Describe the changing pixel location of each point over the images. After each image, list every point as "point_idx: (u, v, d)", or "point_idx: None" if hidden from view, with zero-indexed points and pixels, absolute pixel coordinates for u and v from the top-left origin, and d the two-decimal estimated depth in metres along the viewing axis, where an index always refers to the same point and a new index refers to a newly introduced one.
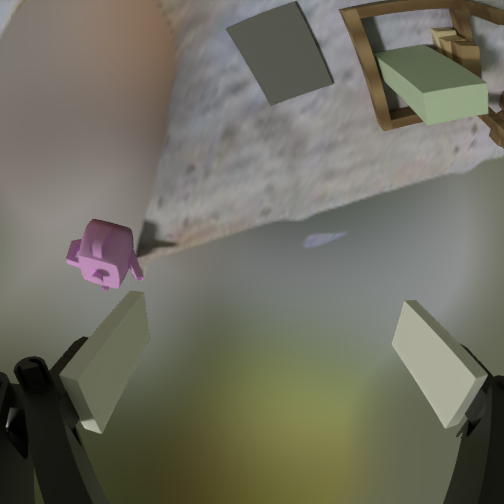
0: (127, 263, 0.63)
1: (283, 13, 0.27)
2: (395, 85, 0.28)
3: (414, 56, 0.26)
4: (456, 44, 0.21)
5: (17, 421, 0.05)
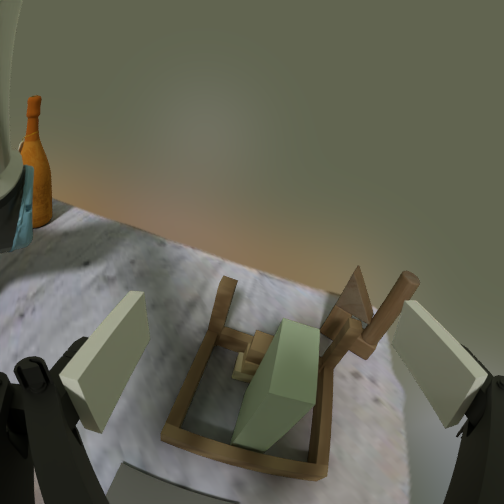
0: None
1: (124, 481, 0.21)
2: (267, 436, 0.25)
3: (246, 402, 0.30)
4: (249, 353, 0.35)
5: (17, 421, 0.05)
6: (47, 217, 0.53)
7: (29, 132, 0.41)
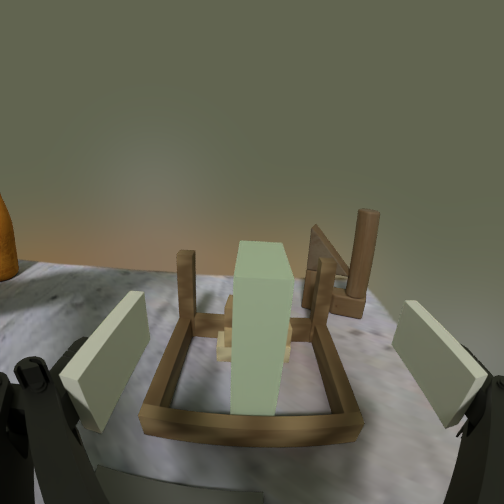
0: None
1: (103, 486, 0.14)
2: (264, 378, 0.21)
3: None
4: (225, 315, 0.32)
5: (17, 421, 0.05)
6: (14, 269, 0.48)
7: None
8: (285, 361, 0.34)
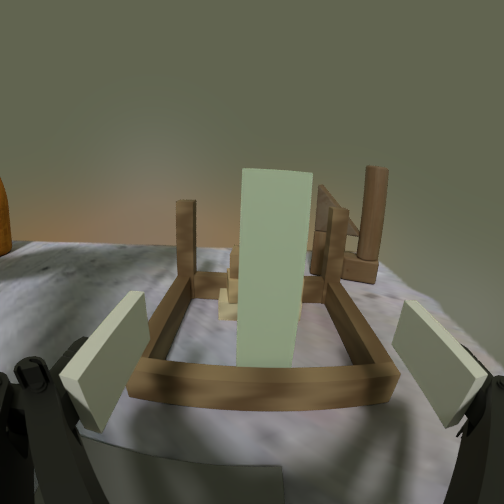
0: None
1: None
2: (279, 312, 0.18)
3: None
4: (231, 264, 0.29)
5: (17, 421, 0.05)
6: (7, 246, 0.45)
7: None
8: None
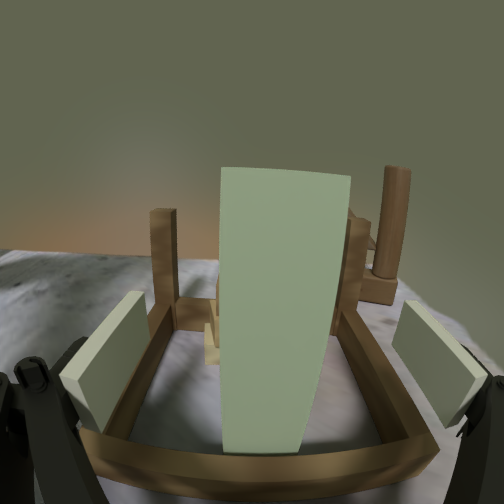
0: None
1: None
2: (284, 395, 0.11)
3: None
4: (218, 298, 0.21)
5: (17, 421, 0.05)
6: None
7: None
8: None
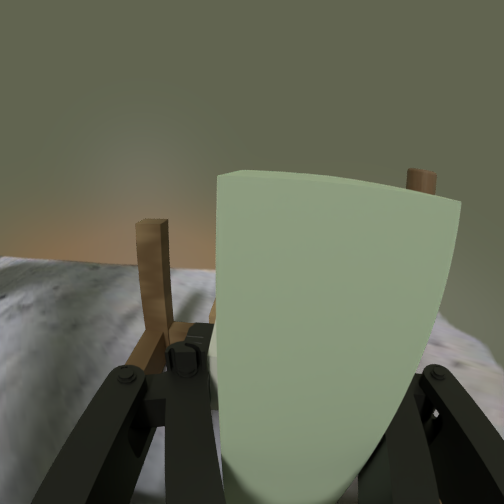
0: None
1: None
2: (310, 491, 0.06)
3: None
4: None
5: (151, 414, 0.07)
6: None
7: None
8: None
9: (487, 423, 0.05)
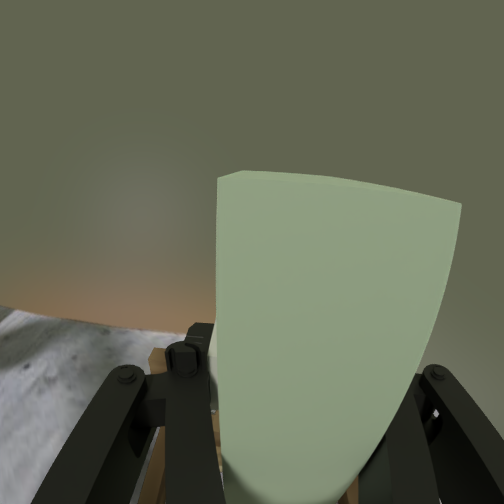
0: None
1: None
2: (310, 492, 0.06)
3: None
4: None
5: (151, 413, 0.07)
6: None
7: None
8: None
9: (487, 423, 0.05)
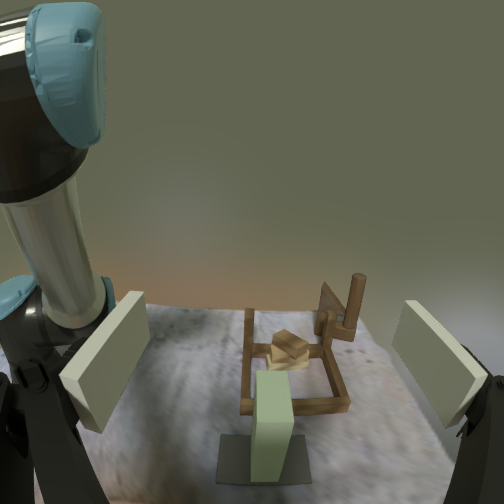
0: None
1: (227, 444, 0.38)
2: (274, 460, 0.29)
3: None
4: (273, 338, 0.59)
5: (17, 421, 0.05)
6: None
7: None
8: None
9: None
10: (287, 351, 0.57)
